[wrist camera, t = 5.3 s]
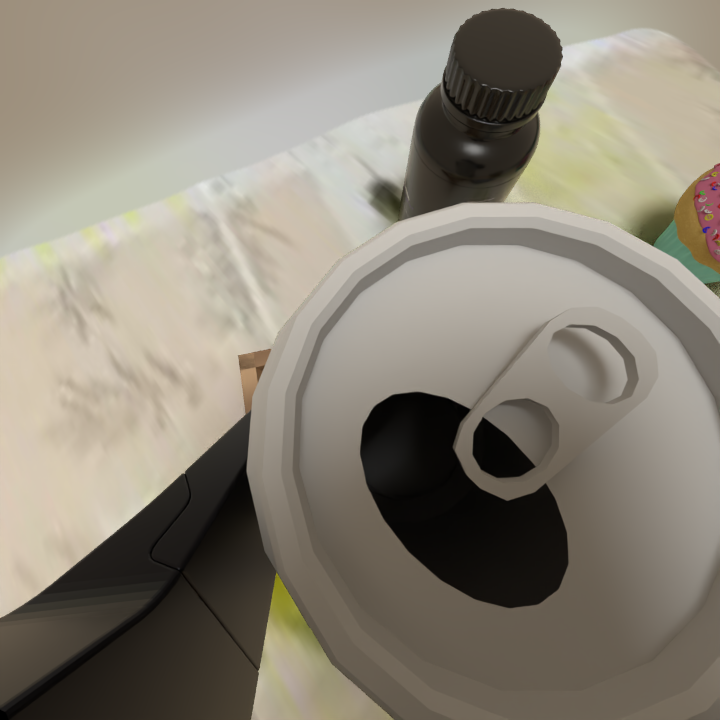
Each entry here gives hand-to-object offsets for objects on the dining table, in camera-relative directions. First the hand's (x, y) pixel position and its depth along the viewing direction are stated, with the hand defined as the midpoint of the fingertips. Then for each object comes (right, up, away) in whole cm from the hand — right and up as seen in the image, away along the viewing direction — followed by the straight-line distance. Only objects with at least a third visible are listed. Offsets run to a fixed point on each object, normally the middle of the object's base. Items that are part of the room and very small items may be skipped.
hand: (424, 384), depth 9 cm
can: (0, -3, +6) cm, 7 cm away
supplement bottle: (+5, +12, +16) cm, 21 cm away
